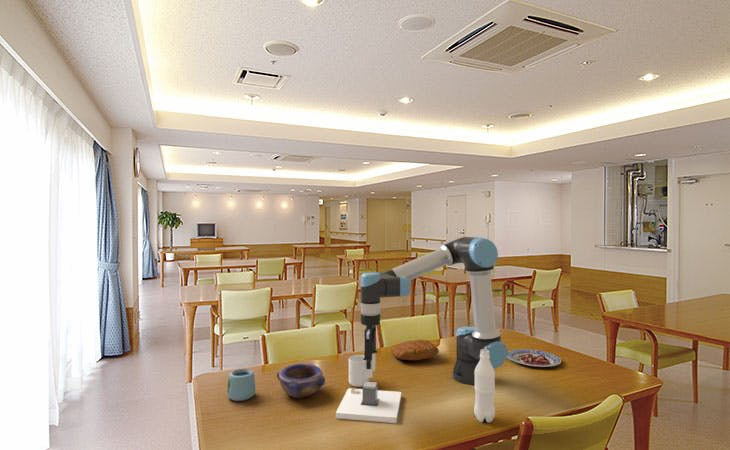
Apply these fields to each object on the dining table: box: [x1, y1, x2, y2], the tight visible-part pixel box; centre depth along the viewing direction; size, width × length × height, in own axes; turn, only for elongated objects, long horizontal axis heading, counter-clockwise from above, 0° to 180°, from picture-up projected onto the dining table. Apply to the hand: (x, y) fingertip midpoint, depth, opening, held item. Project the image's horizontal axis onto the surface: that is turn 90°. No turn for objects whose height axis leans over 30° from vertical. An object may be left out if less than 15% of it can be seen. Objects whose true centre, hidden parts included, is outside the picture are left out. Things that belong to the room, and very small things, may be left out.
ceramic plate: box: [507, 348, 562, 368], centre depth 210 cm, size 26×26×3 cm
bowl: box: [276, 362, 326, 399], centre depth 170 cm, size 18×18×10 cm
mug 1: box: [226, 368, 257, 402], centre depth 169 cm, size 15×11×10 cm
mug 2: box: [348, 354, 370, 388], centre depth 182 cm, size 12×9×11 cm
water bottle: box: [473, 349, 496, 424], centre depth 148 cm, size 7×7×25 cm
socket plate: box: [335, 388, 402, 424], centre depth 158 cm, size 22×22×3 cm
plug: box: [362, 381, 378, 406], centre depth 158 cm, size 5×5×9 cm
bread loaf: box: [390, 339, 440, 361], centre depth 213 cm, size 22×17×8 cm
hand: (370, 373), depth 158 cm, fingers open, 6 cm apart
